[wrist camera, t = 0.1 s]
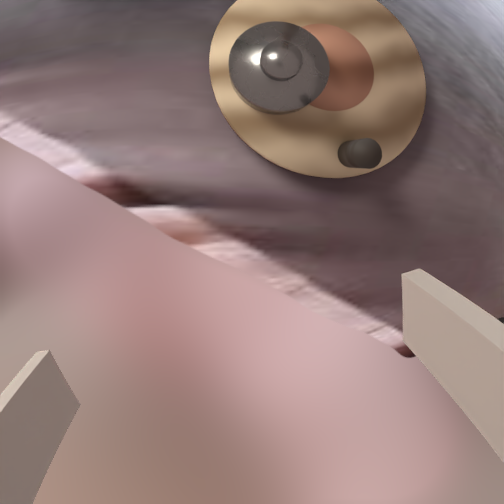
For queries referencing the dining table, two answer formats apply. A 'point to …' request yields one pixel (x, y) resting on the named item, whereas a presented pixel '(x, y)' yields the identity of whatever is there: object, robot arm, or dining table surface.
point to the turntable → (330, 88)
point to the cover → (278, 67)
